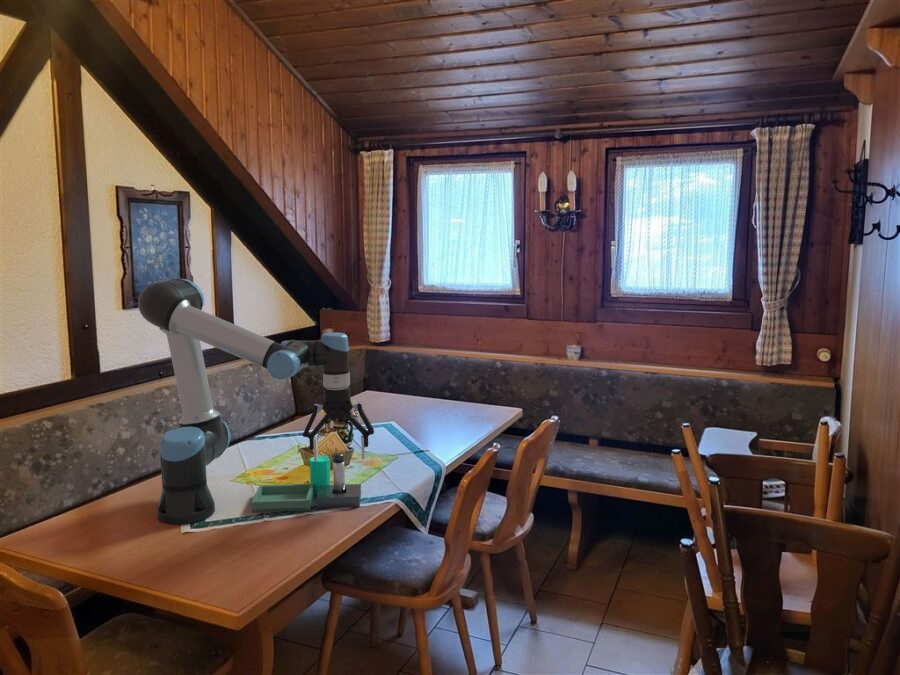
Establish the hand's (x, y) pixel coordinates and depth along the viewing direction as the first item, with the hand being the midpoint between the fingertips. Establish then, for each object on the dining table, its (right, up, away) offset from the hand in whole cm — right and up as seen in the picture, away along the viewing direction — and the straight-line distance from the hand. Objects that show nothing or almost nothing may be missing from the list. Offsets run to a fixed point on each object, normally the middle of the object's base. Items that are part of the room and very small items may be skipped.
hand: (339, 458), depth 209 cm
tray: (-16, -13, +1) cm, 21 cm away
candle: (-7, -12, +10) cm, 17 cm away
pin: (0, -13, +2) cm, 13 cm away
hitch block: (0, -13, +2) cm, 13 cm away
